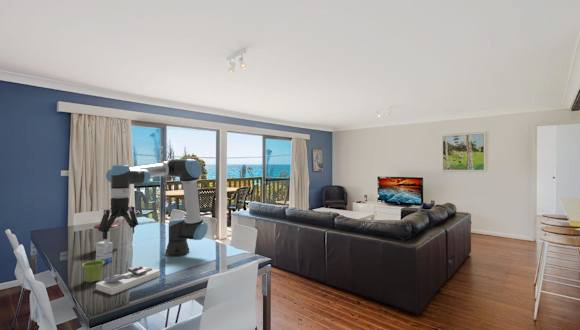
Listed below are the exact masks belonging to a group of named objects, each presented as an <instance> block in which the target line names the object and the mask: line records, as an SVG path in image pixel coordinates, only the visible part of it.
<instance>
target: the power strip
mask: <svg viewBox="0 0 580 330" xmlns="http://www.w3.org/2000/svg"><path fill="white" fill-rule="evenodd" d="M142 268H144V269H145V270H147V273H145V274H143V275H140V276H137V275H133V273H131V272H129V271H128V272H126V273H123V274H121V275H125V278H124V279H122V280H119V281H116V282H113V283H110V282H104V280H102V281H98V282H96V283H95V287H96V288H95V290H96V291H98V292H103V293H104V294H108V295H111V296H113V295H116V294H118V293H121V292H123V291H126V290H128V289H130V288H134V287H135V286H138V285H141V284H143V283H146V282H148V281H151V280H153V279H155V278H158V277H161V270H160V269H156V268H152V267H148V266H143V267H142Z"/></svg>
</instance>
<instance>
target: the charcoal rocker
mask: <svg viewBox="0 0 580 330" xmlns="http://www.w3.org/2000/svg"><path fill="white" fill-rule="evenodd" d="M127 271H128V272H131V273H133V275H137V276H140V275H143V274H145V273H147V270H145V269H144V268H143V267H142V266H139V265H138V264H136V265H133V266H131V267H128V268H127Z"/></svg>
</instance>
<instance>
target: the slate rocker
mask: <svg viewBox="0 0 580 330" xmlns="http://www.w3.org/2000/svg"><path fill="white" fill-rule="evenodd" d="M124 278H125V275H122V274H119V273H117V274H115V275H112V276H108V277H106V278H104V279H103V281H104V282H110V283H113V282H116V281H119V280H122V279H124Z"/></svg>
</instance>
